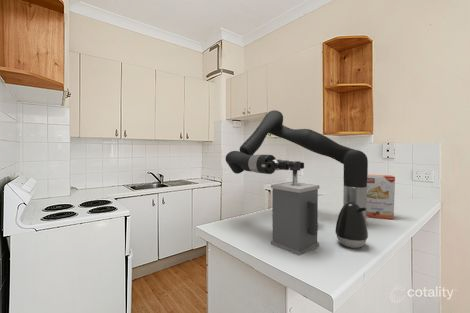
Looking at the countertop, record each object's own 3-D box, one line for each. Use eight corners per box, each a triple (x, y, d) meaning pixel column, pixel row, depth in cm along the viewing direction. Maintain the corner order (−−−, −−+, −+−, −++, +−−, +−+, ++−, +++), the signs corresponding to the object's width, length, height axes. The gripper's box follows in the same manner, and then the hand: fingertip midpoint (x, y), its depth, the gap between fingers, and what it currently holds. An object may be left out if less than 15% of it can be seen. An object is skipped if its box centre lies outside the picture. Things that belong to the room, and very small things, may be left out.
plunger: (292, 235, 87) (292, 160, 86) (310, 241, 81) (310, 161, 80) (279, 240, 82) (279, 161, 81) (297, 247, 76) (297, 162, 75)
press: (291, 235, 90) (291, 181, 89) (324, 247, 79) (325, 186, 79) (270, 244, 82) (270, 184, 82) (305, 258, 72) (305, 190, 71)
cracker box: (361, 217, 115) (361, 175, 114) (359, 213, 120) (360, 173, 120) (394, 220, 110) (395, 176, 109) (391, 216, 115) (392, 174, 114)
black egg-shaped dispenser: (353, 253, 75) (354, 207, 74) (329, 242, 84) (329, 200, 84) (375, 248, 79) (375, 203, 78) (349, 237, 88) (349, 198, 88)
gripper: (249, 154, 88) (283, 155, 76) (274, 154, 97) (308, 155, 85) (249, 174, 88) (283, 178, 76) (273, 172, 97) (307, 175, 85)
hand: (296, 166), depth 80 cm, fingers open, 8 cm apart
